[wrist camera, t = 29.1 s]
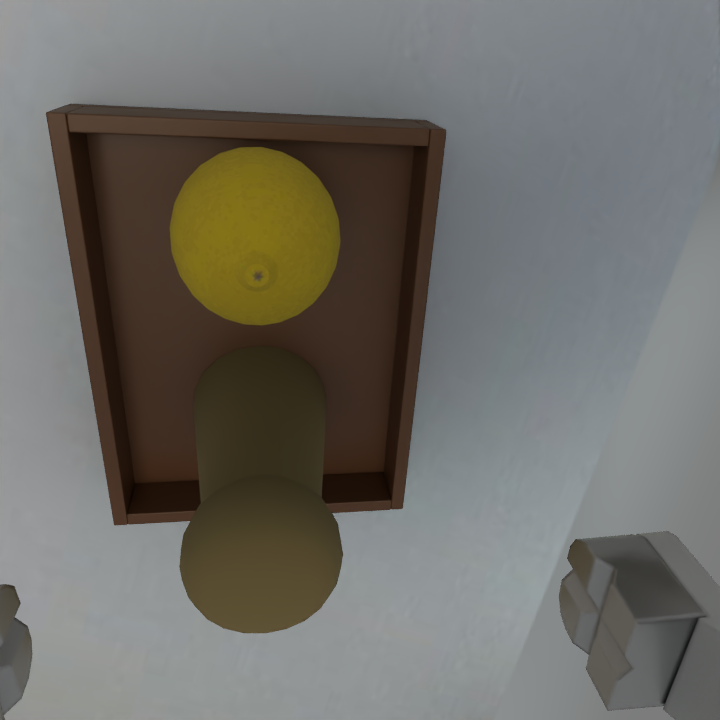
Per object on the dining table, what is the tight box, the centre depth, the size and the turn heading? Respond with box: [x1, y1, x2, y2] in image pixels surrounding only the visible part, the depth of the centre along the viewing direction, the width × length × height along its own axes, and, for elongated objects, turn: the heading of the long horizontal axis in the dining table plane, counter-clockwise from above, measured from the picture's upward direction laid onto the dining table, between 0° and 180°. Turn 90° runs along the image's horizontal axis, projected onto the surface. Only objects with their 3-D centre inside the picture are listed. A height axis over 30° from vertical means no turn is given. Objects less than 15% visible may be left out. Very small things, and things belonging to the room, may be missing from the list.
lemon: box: [170, 147, 340, 325], centre depth 20 cm, size 6×6×8 cm
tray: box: [46, 104, 446, 525], centre depth 26 cm, size 13×17×3 cm
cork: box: [180, 346, 343, 633], centre depth 23 cm, size 6×6×11 cm
